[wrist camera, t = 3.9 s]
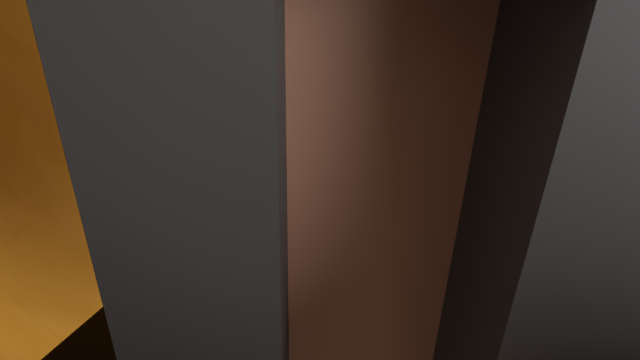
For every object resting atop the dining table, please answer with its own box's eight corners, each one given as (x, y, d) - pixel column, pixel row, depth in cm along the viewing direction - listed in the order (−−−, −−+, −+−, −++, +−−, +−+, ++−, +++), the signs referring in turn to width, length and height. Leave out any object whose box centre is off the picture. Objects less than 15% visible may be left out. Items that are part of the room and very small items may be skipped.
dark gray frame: (455, 456, 13) (507, 655, 10) (222, 458, 13) (193, 662, 10) (627, -220, 6) (998, -332, 3) (139, -234, 6) (-69, -372, 3)
